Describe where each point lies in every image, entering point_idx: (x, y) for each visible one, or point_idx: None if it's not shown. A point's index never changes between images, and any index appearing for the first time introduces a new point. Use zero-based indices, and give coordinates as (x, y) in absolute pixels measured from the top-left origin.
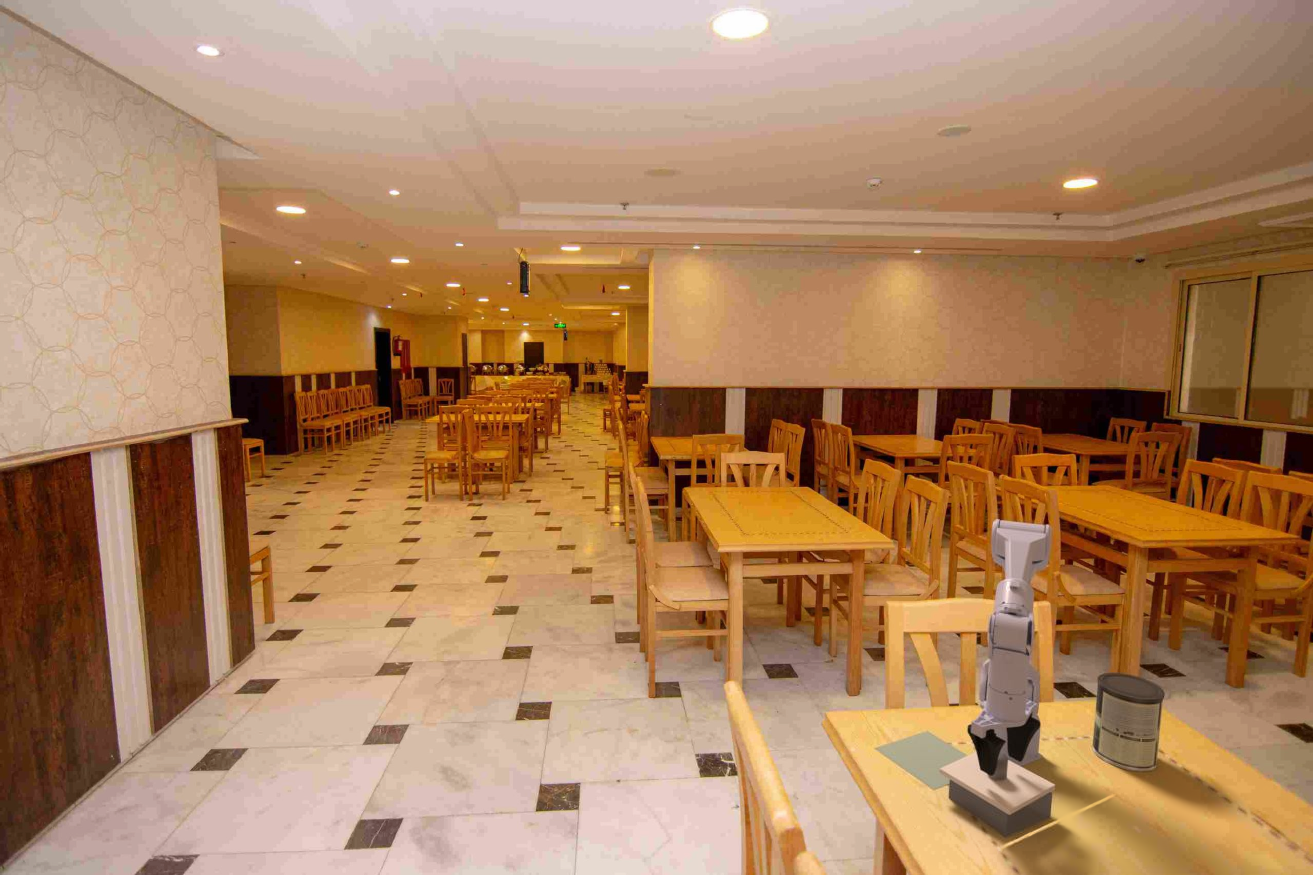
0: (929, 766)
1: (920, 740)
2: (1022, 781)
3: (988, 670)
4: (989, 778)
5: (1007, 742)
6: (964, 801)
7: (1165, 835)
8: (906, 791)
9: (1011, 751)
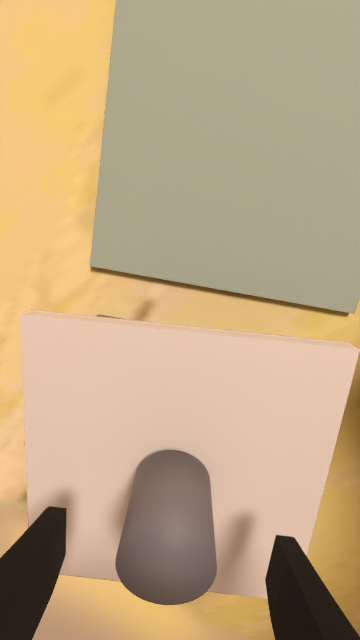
0: (198, 175)
1: (352, 21)
2: (222, 537)
3: None
4: (137, 465)
5: (307, 601)
6: None
7: None
8: (19, 209)
9: (281, 579)
